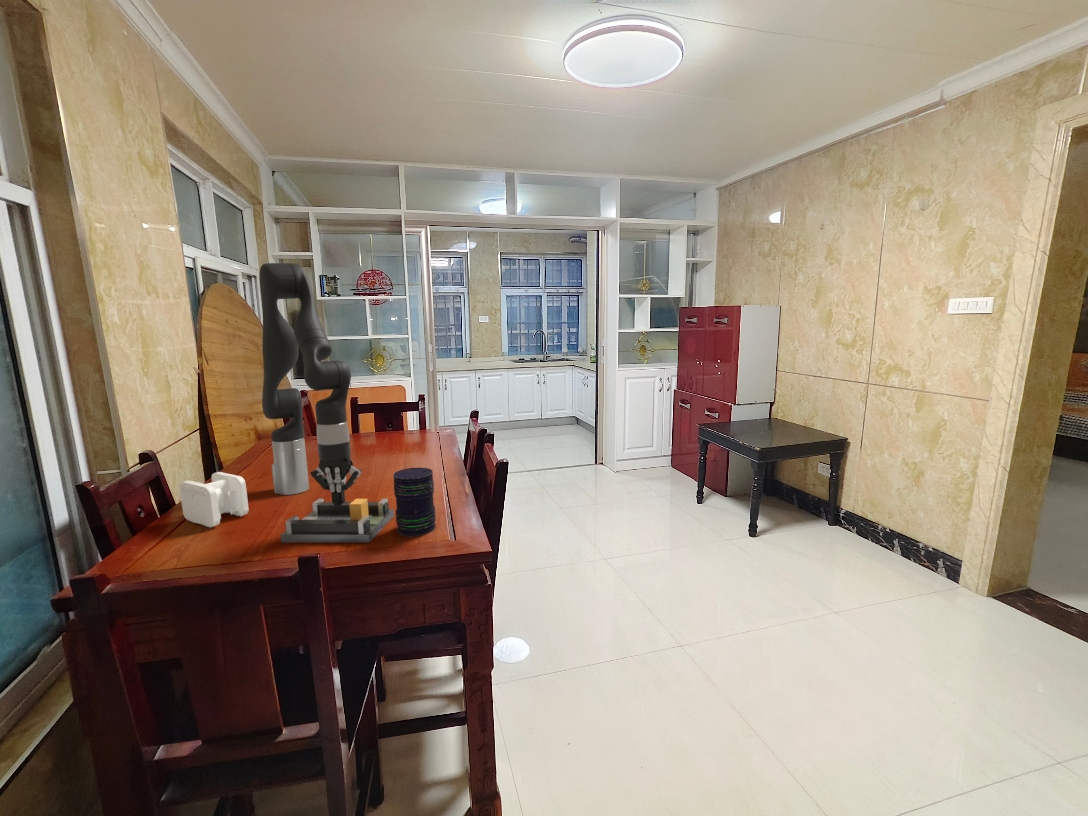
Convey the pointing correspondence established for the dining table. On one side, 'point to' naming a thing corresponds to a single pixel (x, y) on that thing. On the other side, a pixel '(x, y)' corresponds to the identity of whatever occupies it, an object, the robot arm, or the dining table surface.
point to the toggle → (359, 509)
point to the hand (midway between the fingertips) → (339, 504)
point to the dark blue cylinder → (414, 501)
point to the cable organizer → (214, 499)
